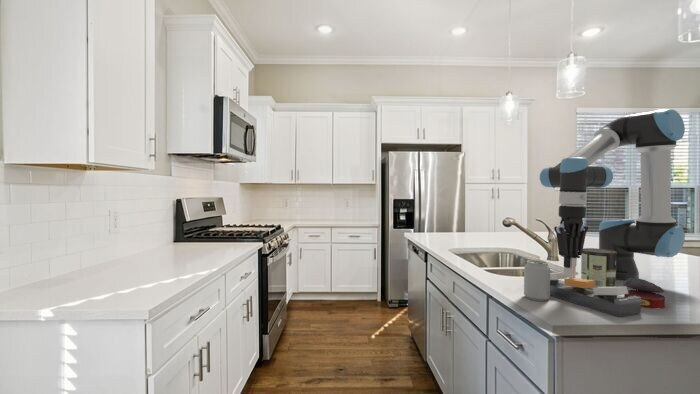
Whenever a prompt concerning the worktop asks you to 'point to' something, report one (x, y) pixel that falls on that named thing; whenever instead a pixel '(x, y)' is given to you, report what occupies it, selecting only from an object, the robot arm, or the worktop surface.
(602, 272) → the coffee can
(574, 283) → the orange rectangular block
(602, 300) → the dark grey tray
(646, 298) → the canned food
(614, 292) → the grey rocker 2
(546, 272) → the can
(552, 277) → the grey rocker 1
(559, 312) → the worktop surface
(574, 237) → the robot arm
